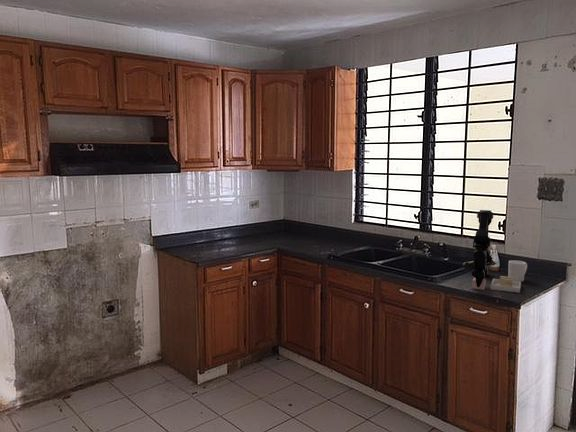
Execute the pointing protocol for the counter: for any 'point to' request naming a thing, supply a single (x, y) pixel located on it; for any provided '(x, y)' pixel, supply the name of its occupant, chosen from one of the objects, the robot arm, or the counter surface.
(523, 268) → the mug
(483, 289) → the rose box
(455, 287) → the counter surface
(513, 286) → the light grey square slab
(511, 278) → the oak block
